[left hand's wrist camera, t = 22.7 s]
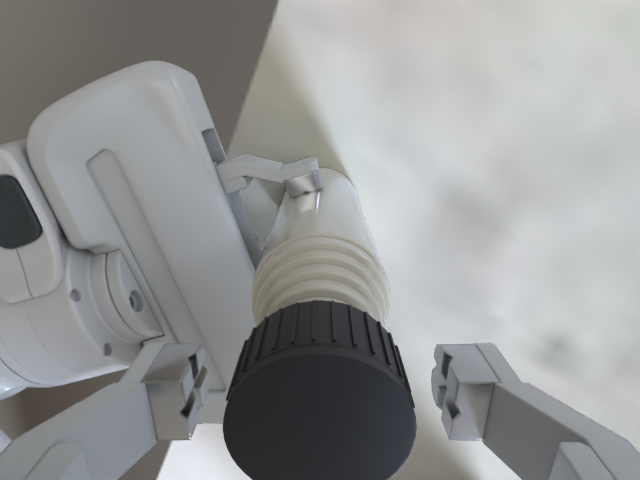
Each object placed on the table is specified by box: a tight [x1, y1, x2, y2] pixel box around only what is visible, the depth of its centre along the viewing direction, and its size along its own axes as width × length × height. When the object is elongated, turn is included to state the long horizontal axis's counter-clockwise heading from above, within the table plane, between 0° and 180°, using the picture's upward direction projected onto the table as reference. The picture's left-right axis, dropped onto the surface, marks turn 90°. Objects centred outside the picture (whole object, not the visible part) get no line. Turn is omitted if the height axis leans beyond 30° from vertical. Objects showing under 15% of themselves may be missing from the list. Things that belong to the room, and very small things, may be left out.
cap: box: [223, 300, 416, 480], centre depth 9 cm, size 4×4×2 cm
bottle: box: [251, 168, 389, 327], centre depth 17 cm, size 5×5×18 cm
